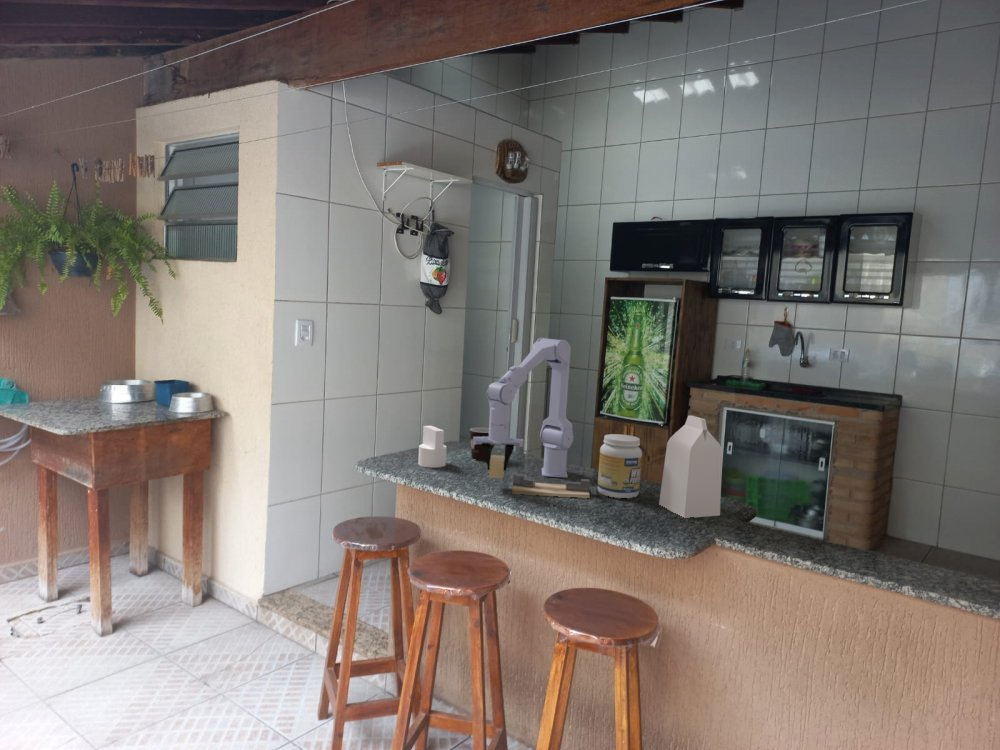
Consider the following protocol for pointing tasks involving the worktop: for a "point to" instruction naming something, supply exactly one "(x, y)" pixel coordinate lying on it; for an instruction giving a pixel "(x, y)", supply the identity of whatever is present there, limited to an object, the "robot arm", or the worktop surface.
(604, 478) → the supplement tub
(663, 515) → the worktop surface
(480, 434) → the coffee mug
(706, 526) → the worktop surface
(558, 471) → the robot arm
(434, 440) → the base with upright slab
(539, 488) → the wooden board
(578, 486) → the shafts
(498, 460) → the gold rectangular block
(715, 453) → the milk
